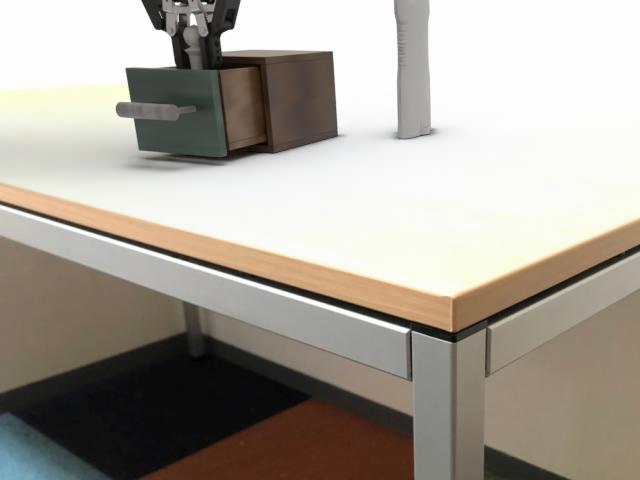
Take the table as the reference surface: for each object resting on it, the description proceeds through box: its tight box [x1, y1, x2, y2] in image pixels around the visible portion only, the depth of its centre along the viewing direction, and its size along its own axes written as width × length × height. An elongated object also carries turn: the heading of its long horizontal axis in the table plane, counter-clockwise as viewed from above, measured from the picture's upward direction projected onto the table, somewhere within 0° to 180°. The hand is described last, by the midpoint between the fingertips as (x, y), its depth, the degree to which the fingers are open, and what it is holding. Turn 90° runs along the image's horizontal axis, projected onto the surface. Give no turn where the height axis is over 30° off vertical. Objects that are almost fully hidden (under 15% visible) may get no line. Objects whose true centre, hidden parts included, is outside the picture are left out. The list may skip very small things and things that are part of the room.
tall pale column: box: [393, 0, 432, 140], centre depth 97 cm, size 11×4×22 cm, turn 162°
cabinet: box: [222, 49, 339, 154], centre depth 94 cm, size 15×13×11 cm
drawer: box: [115, 63, 268, 158], centre depth 84 cm, size 18×11×9 cm, turn 157°
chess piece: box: [183, 24, 203, 69], centre depth 83 cm, size 5×5×8 cm
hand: (199, 72), depth 83 cm, fingers closed on chess piece, 3 cm apart
